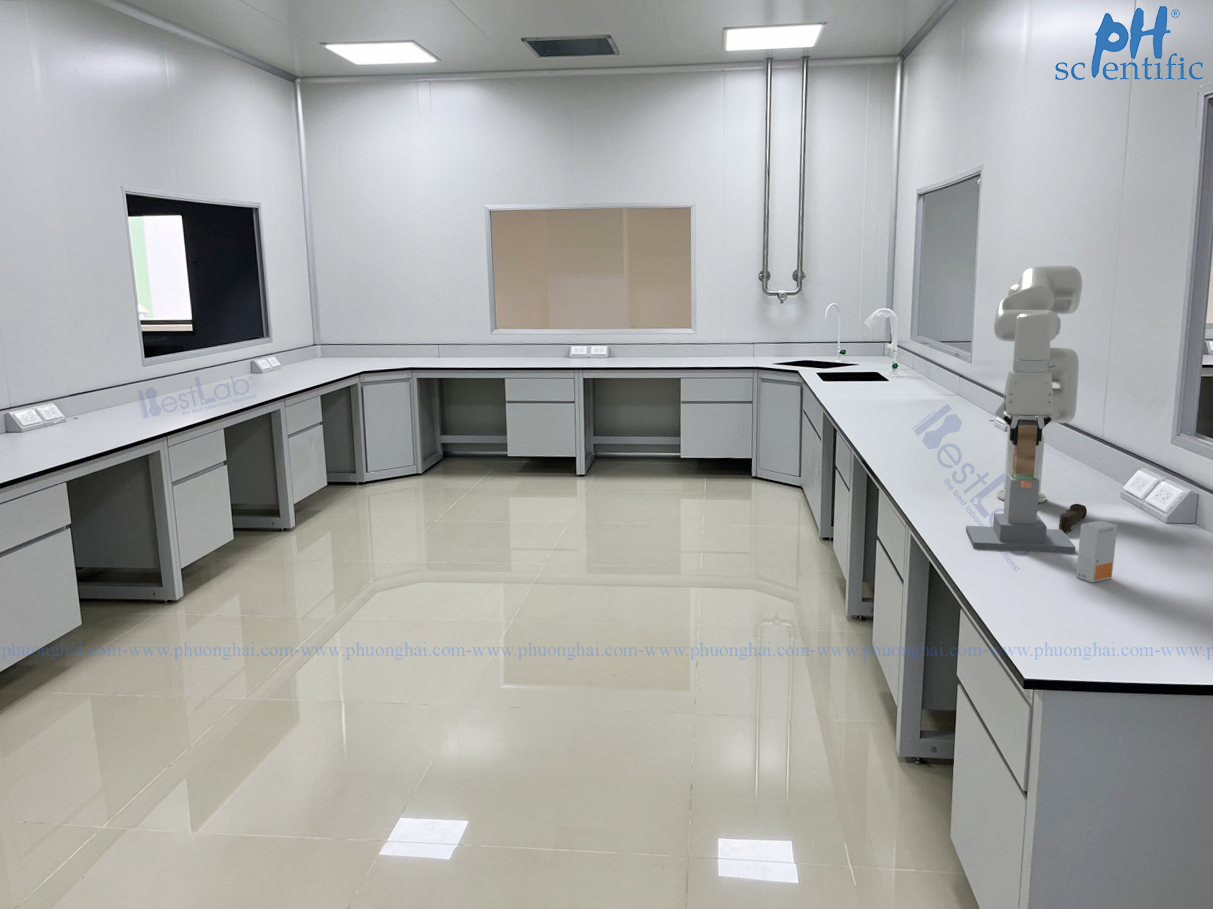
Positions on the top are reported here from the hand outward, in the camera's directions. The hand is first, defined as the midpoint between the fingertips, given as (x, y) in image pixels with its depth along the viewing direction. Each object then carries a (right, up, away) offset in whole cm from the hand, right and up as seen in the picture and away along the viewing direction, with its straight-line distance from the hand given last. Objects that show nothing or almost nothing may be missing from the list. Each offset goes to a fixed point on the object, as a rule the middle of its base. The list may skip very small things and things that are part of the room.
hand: (1025, 443), depth 217 cm
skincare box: (+6, -29, -20) cm, 36 cm away
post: (0, -11, +2) cm, 11 cm away
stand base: (+1, -24, +5) cm, 24 cm away
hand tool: (+19, -21, +17) cm, 33 cm away
